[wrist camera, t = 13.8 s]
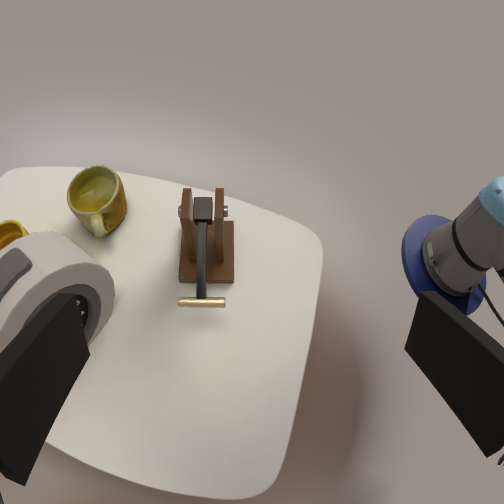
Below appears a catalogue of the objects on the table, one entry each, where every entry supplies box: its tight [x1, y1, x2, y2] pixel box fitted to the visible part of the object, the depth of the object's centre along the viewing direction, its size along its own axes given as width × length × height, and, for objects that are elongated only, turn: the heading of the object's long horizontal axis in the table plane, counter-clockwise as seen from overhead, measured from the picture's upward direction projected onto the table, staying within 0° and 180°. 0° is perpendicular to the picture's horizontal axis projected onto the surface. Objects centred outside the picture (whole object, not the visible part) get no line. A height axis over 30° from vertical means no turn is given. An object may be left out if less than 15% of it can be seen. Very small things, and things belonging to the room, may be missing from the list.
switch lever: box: [178, 197, 225, 308], centre depth 36 cm, size 13×6×2 cm, turn 3°
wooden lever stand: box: [178, 188, 234, 283], centre depth 41 cm, size 10×8×13 cm
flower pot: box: [0, 220, 29, 250], centre depth 38 cm, size 10×10×10 cm
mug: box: [67, 165, 127, 238], centre depth 45 cm, size 12×10×10 cm
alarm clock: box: [0, 232, 115, 353], centre depth 30 cm, size 21×8×20 cm, turn 149°
